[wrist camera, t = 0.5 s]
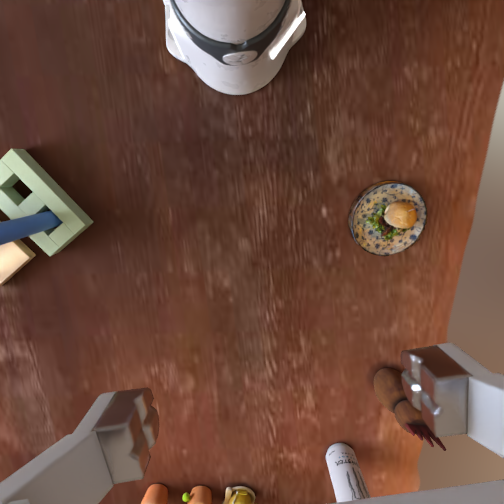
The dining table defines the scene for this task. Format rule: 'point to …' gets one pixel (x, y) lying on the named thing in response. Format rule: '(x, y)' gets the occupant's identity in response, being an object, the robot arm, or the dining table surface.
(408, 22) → the dining table surface
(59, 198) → the holder
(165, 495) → the toy tea set
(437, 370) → the robot arm
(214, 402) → the dining table surface
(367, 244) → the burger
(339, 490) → the energy drink can
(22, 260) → the stand
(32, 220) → the peg
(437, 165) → the dining table surface
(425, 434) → the wooden figurine
